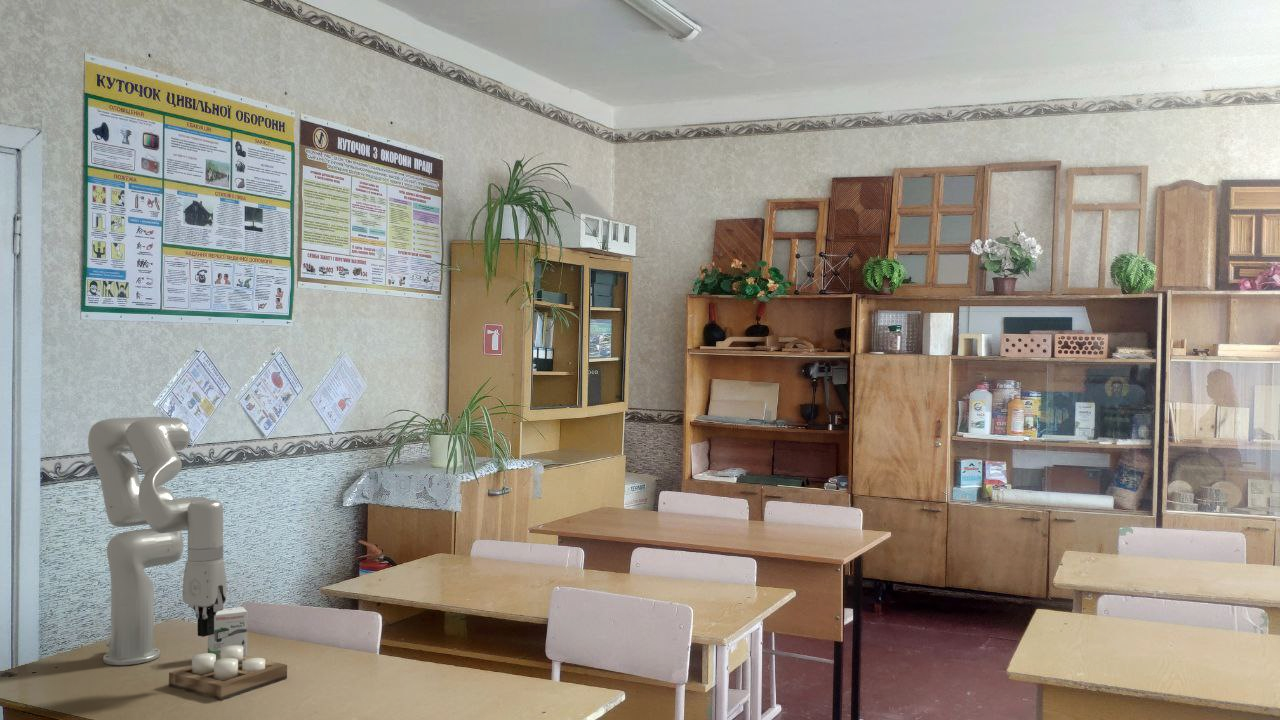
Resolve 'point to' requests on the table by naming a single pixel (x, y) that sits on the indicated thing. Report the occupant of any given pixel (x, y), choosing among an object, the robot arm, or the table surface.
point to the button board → (230, 687)
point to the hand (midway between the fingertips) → (205, 634)
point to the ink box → (229, 630)
